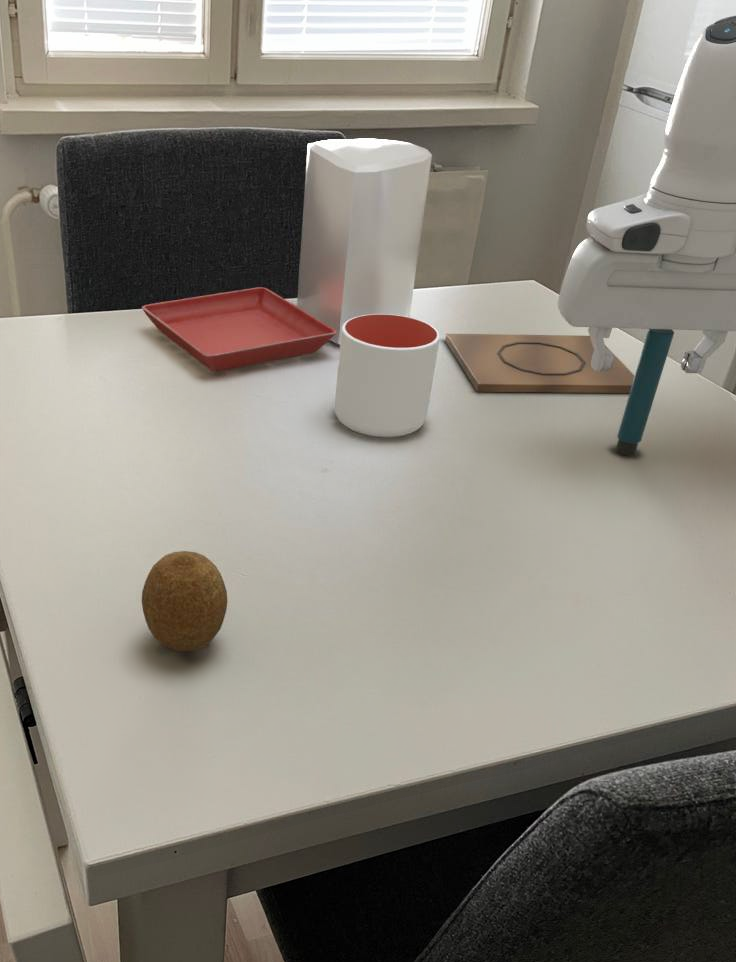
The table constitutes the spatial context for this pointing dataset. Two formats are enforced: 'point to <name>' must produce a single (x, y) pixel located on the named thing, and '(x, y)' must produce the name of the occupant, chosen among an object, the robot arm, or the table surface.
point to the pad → (535, 364)
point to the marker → (643, 390)
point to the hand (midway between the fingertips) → (645, 370)
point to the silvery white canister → (361, 228)
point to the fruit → (184, 601)
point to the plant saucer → (239, 328)
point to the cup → (385, 374)
